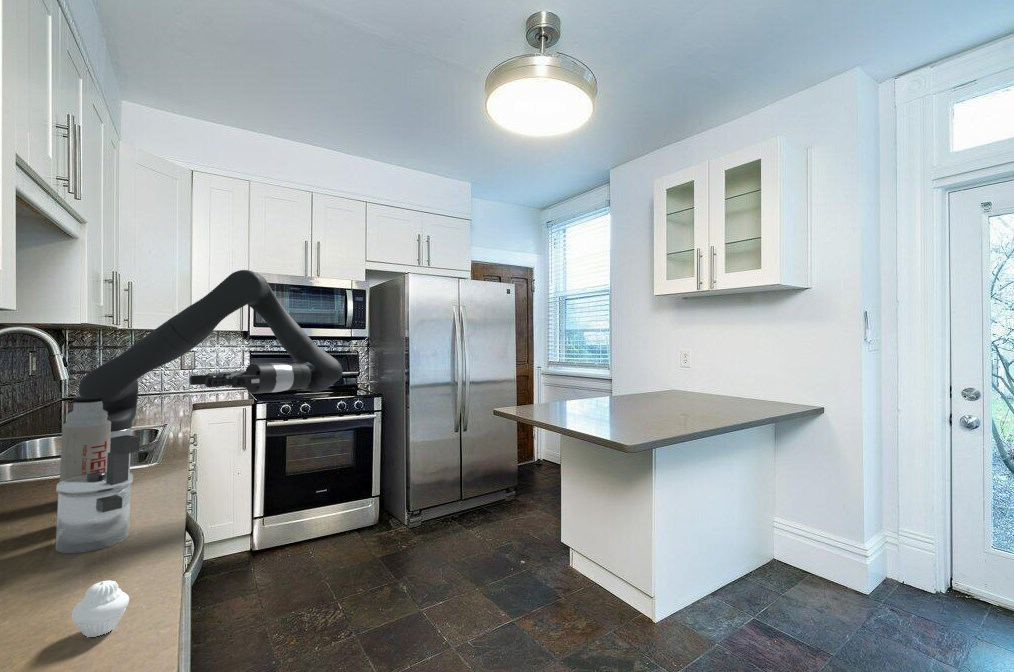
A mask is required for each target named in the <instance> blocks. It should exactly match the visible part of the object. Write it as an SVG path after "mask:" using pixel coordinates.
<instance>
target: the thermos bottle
mask: <svg viewBox="0 0 1014 672" xmlns="http://www.w3.org/2000/svg"><path fill="white" fill-rule="evenodd" d="M102 401H103V397H81V396H80V397H75V398H73V399H72V403H74V404H73V406H72V411H70V412H68V413H67V414H66V422H65V423H63V424H62V427H61V447H60V449H61V450H60V464H59V465H60V468H59V469H60V470H59V482H61V481H63V480H66V479H69V478H73V477H77V476H81V475H87V474H89V473H94V472H107V455H108V453H109V452H110V434H111V421H109V420H107V417H108V415H107V413H108V412H107V411H105V410H103V403H102Z"/></svg>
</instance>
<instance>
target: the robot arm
mask: <svg viewBox="0 0 1014 672" xmlns="http://www.w3.org/2000/svg"><path fill="white" fill-rule="evenodd" d="M245 306H249V307H250V308H251V309H252V310H254V311H255V312H256V313H257V314H258V315H259V316H260V317H261V318H262V319H263V321H265V323H266V324H267V325H268V327H269V328H270V330H271V332H272V334H273V335H274V337H275V338H276V340H277V341H278V343H279V344H280V346H281V347H283V349H284V350H285V351H286V352H287V354H288V355H289V356H290V357H291V358H292V359H293V361H294V362H296V363H281V362H264V363H263V362H261V363H257V362H256V363H251V364H249V365H248V366H247V367H246V368H245V371H244V370H243V371H242V370H233V371H220V372H215V373H214V372H213V373H211V372H207V373H206V374H194V375H190V377H189V384H190V385H191V386H201V385H205V387H206V388H218V387H219V388H220V387H225V388H231V389H246V391H247V392H249V393H250V394H253V395H254V394H257V395H258V394H265V393H266V394H267V393H278V392H279V393H280V392H284V391H292V390H293V391H294V390H295V391H296V390H302V391H308V392H315V393H316V392H323V391H326V390H327V389H329V388H330V387H331V386H333V385H334V384H335V383H336V382H338V381H339V380H340V379H342V376H343V368H342V365H341V363H340V362H339V361H338V359H336V358H334V357H333V356H332V355H330V354H329V353H327V351H325V350H324V349H322V348H320V347H319V346H318V345H316V343H315V342H314V341H313V340H312V339H311V338H310V336H309V335H308V334H307V333H306V332H305V331H304V329H303V328H302V327H301V326H300V325H299V324H298V323H297V322H296V321H295V320H294V319H293V317H292V316H291V315H290V314H289V313H288V312H287V310H286V308H284V306H283V305H282V304H281V302H280V301H279V299H278V298H277V296H276V294H275V292H274V291H273V290H272V288H271V286H270V285H269V282H268V281H267V280H266V278H265V277H264V276H263V275H262V274H260V273H258V272H255V271H253V270H248V269H240V270H237V271H234V272H232V273H231V274H230V275H228V276H227V277H226V278H225V279H223V280H222V281H221V282H220V283H219V284H217V286H215V287H214V288H213V289H212V290H211V291H210V292H209V293H207V294H205V296H203V297H202V298H200V299H199V300H197V301H196V302H193V304H190V305H189V306H187V307H186V308H185V309H183V310H182V311H180V312H178V313H177V314H175V315H173V316H172V317H171V318H169V319H168V320H166V321H165V322H163V323H162V324H161V325H159V326H158V327H156V328H155V329H154V330H153V331H151V332H149V333H148V334H147V335H145V336H144V337H143V338H141V339H140V340H138V342H136V343H134V344H133V345H132V346H131V347H130V348H128V349H127V350H125V351H124V352H122V353H121V354H120V355H117V356H116V357H114V358H111V359H110V360H108V361H107V362H104V364H102V365H100V366H98V367H96V368H94V369H93V370H90V371H89V372H88V373H86V374H85V375H84V377H82V379H81V381H80V383H79V386H78V394H79V396H80V397H103V401H102V403H103V410H105V411H107V412H108V413H107V415H108V417H107V420H109V421H111V434H110V443H111V438H113V437H119V436H124V435H130V436H132V430H133V429H132V427H133V421H134V419H135V416H136V414H137V407H138V396H139V381H138V380H139V379H140V378H142V377H143V376H144V375H145V374H148V373H149V372H151V371H154V370H155V369H157V368H160V367H163V366H164V365H167V364H169V363H171V362H173V361H175V360H177V359H179V358H181V357H182V356H184V355H185V354H188V353H189V352H190V351H191V350H192V349H194V348H195V347H197V346H198V345H200V344H201V343H202V342H204V340H206V339H207V338H208V337H209V336H210V335H211V334H212V332H213V331H214V330H215V329H216V327H217V326H218V325H219V324H220V323H221V322H222V321H223V320H224V319H226V318H227V317H229V316H230V315H232V314H233V313H234V312H236V311H238V310H240V309H241V308H243V307H245ZM306 363H309V364H311V365H312V366H314V367H313V368H311V369H310V367H309V366H308V365H306ZM131 454H132V453H129V469H128V472H129V473H131Z"/></svg>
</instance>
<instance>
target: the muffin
mask: <svg viewBox="0 0 1014 672" xmlns="http://www.w3.org/2000/svg"><path fill="white" fill-rule="evenodd" d="M129 602H130V596H129V595H128V594H127V593H126V592H124V591H122V589H121V588H120V587H119V584H118V583H117V581H115V580H102V581H100V582H96V583H94V584H93V585H90V586H89V587H88V588H87V590H86V591H85V593H84V596H83V598H81V600H80V601H79V602H78V603H77V604H76V605H75V606H74V608H73V610H72V611H71V619H72V620H73V621H74V622H73V623H74V626H76V627H77V629H78V630H79V631H80V632H81V633H82V635H83V636H84V635H85V636H87V637H86V638H88V637H95V636H99V635H103V634H105V635H107V634H106V633H108V632H109V633H111V632H112V631H113V630H114V629H115V628H116V627H117V626H118V623H119V622H120V620H121V619H122V617H123V615H124V613H125V611H126V610H127V606H128V605H129V604H130V603H129ZM111 630H112V631H111ZM110 631H111V632H110ZM109 633H108V634H109ZM85 636H84V637H85ZM103 636H104V635H103Z"/></svg>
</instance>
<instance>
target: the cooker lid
mask: <svg viewBox="0 0 1014 672" xmlns="http://www.w3.org/2000/svg"><path fill="white" fill-rule="evenodd" d="M140 445H141V436H140V435H131V436H130V435H124V436H119V437H113V438H111V443H110V452H109V453H108V455H107V472H94V473H89V474H87V475H81V476H77V477H73V478H69V479H66V480H63V481H61V482H60V481H59V482H58V483H57V484H56V491H55V492H56V494H58V493H59V494H64V495H82V494H92V493H99V492H105V491H110V490H114V489H118V488H121V487H124V486H127V485H129V484H131V485H132V483H133V481H134V474H133V473H132V472H130V473H129V472H128V469H129V453H131V454H132V453H137V452H140Z"/></svg>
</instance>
